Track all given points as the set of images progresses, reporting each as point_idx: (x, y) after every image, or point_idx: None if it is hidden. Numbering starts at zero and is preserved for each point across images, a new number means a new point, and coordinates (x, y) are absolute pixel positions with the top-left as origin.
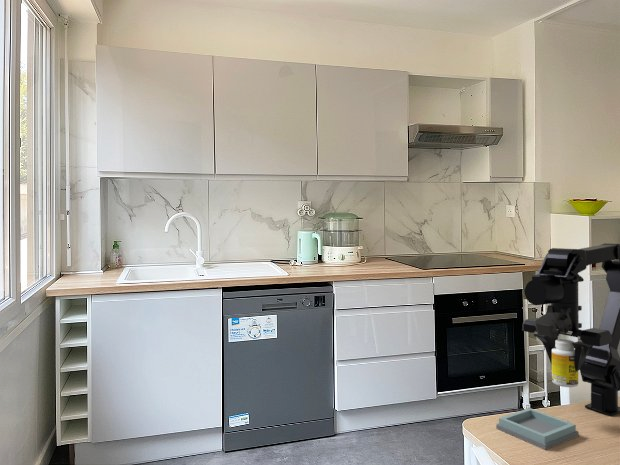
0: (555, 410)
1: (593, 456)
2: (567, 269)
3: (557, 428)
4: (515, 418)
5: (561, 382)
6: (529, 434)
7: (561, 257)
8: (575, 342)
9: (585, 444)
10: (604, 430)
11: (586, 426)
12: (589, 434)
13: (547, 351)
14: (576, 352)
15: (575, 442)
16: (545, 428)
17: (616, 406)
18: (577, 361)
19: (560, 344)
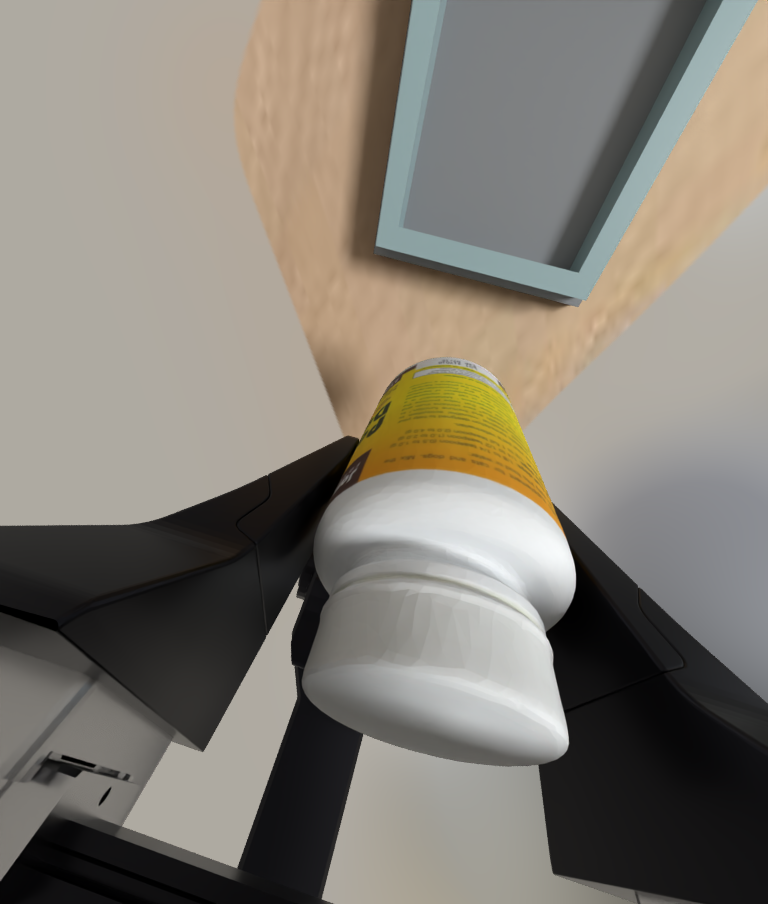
0: None
1: (270, 62)
2: None
3: (420, 98)
4: (660, 104)
5: (444, 361)
6: None
7: None
8: (78, 662)
9: (335, 186)
10: (341, 369)
11: (385, 364)
12: (358, 303)
13: (615, 572)
14: (253, 515)
15: (366, 171)
16: (487, 162)
17: None
18: (306, 463)
19: (457, 639)
